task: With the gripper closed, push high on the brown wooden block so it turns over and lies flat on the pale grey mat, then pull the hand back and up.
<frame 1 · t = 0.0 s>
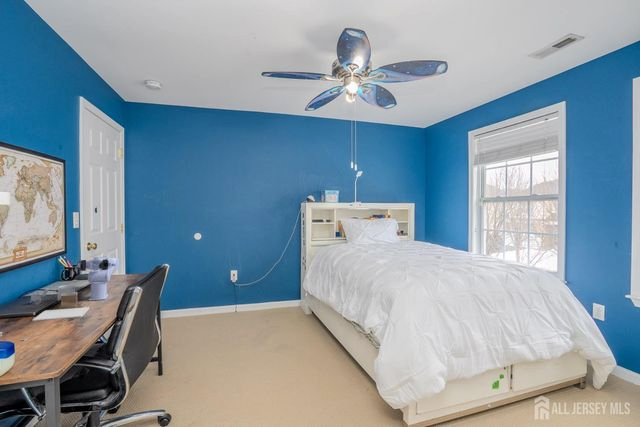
hand: (91, 266, 157), 22 cm above the table, tool horizontal, fingers open, 7 cm apart
skincare box: (66, 300, 169), on the table
lighter: (39, 304, 161), on the table
brown wooden block: (68, 308, 155), on the table
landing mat: (62, 314, 147), on the table
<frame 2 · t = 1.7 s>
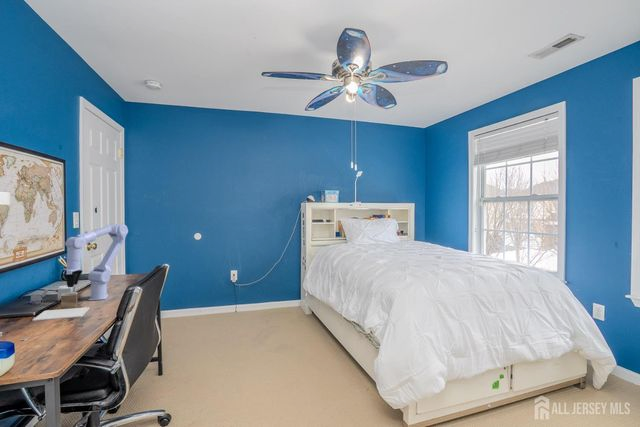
hand: (72, 285, 160), 10 cm above the table, tool pointing down, fingers open, 6 cm apart
nothing on the table moved.
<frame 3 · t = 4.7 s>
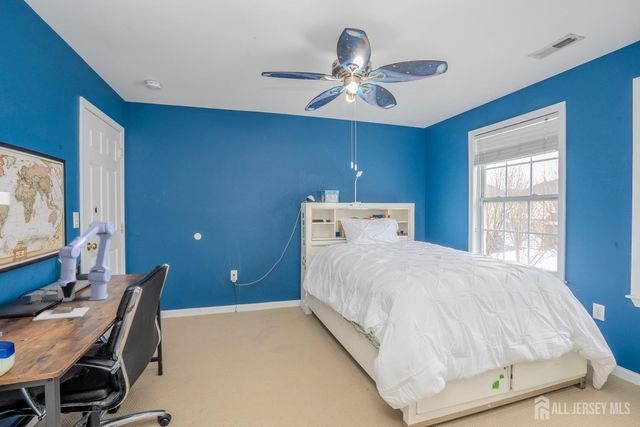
hand: (67, 297, 153), 6 cm above the table, tool pointing down, fingers closed
brown wooden block: (68, 305, 154), point 2 cm above the table, tilted 90°, touching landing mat
everything else where it was.
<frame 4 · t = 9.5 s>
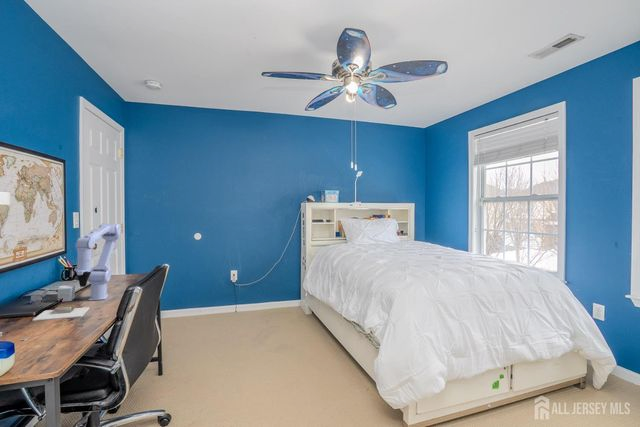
hand: (83, 286, 160), 10 cm above the table, tool pointing down, fingers closed
nothing on the table moved.
at the end: brown wooden block tilted 90°; brown wooden block touching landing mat; brown wooden block inside the target area (4.1 cm from its centre), point 1.7 cm above the table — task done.
